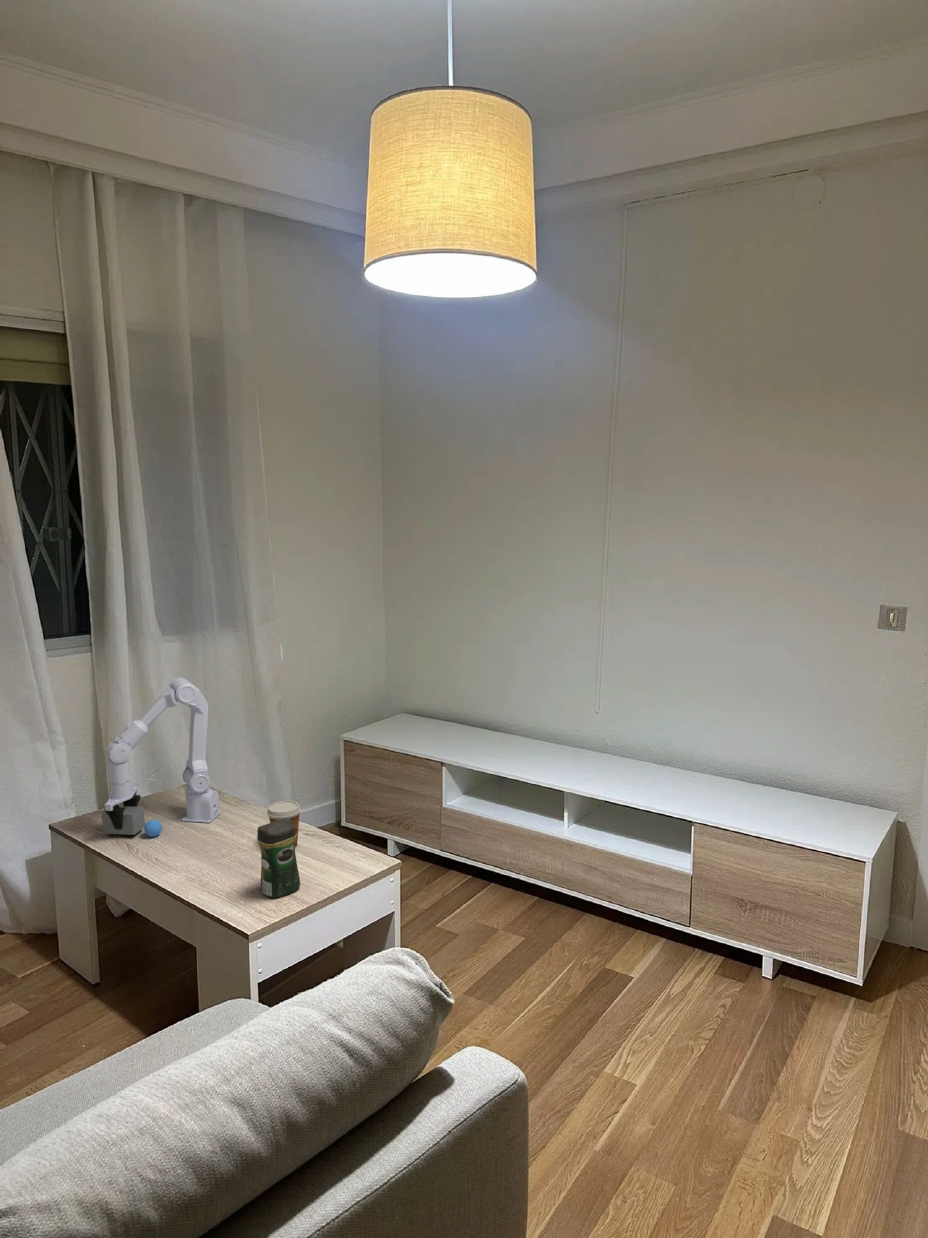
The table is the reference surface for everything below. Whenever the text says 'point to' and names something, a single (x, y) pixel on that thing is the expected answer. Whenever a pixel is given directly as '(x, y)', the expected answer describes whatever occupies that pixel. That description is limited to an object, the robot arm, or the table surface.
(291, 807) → the disposable coffee cup
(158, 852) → the table surface
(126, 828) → the grey rectangular box
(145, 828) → the ball
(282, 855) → the coffee jar
